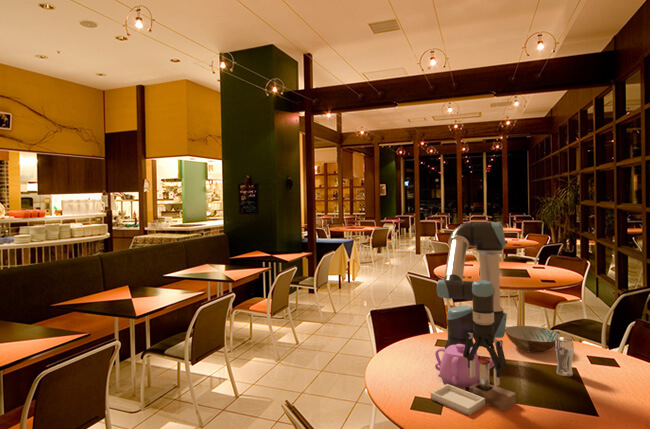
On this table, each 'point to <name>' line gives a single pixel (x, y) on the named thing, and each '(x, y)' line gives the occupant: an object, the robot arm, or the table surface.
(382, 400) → the table surface
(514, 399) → the block
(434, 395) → the tray
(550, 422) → the table surface
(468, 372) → the teapot
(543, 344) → the bowl
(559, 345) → the beer glass
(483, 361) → the red capped grey tube
